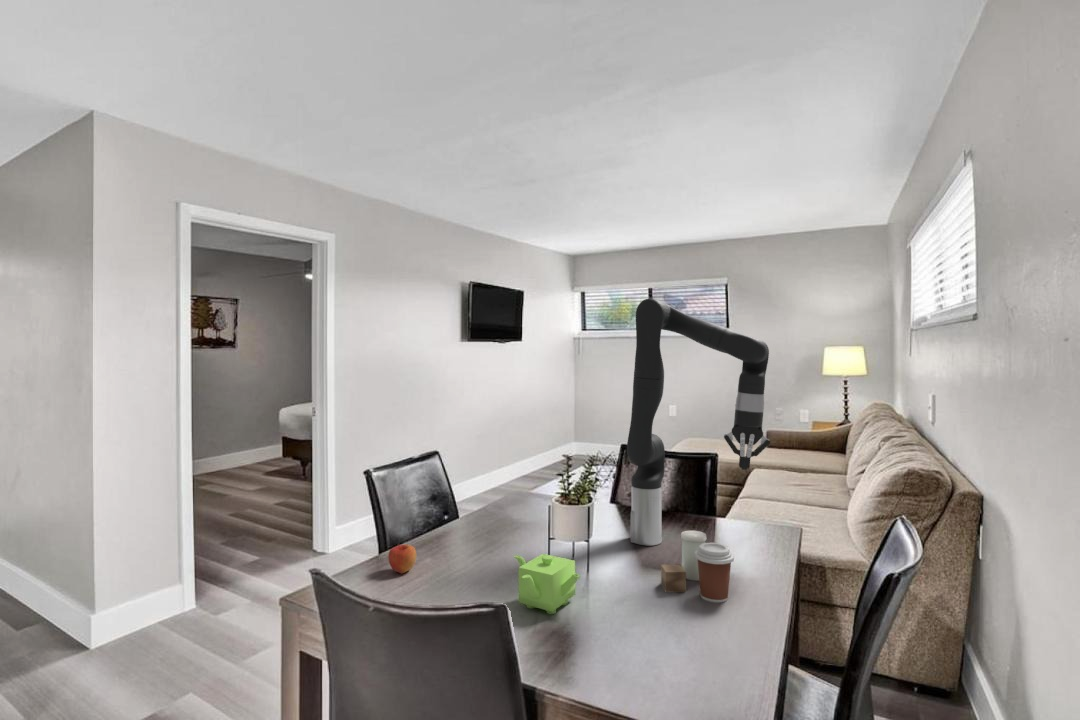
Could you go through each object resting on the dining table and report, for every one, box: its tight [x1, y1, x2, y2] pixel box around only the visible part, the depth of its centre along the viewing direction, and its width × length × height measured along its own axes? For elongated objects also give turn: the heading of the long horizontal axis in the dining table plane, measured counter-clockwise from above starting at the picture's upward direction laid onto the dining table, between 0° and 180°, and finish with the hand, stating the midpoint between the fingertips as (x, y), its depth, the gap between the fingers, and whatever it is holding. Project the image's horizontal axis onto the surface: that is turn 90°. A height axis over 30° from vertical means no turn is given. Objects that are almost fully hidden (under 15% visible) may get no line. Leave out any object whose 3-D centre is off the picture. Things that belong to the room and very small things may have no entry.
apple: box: [388, 543, 417, 575], centre depth 153 cm, size 7×7×8 cm
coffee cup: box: [694, 542, 735, 604], centre depth 137 cm, size 9×9×12 cm
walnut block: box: [660, 563, 687, 593], centre depth 142 cm, size 5×5×5 cm
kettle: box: [513, 553, 581, 615], centre depth 133 cm, size 15×14×11 cm
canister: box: [680, 530, 707, 581], centre depth 150 cm, size 6×6×11 cm
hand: (744, 469), depth 162 cm, fingers closed
